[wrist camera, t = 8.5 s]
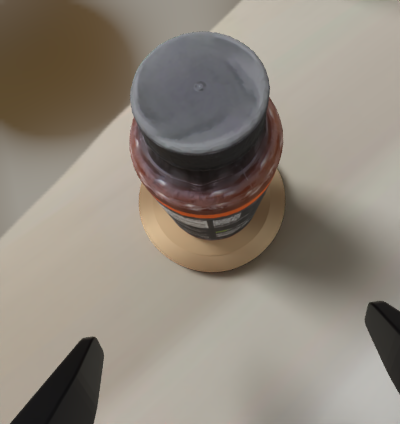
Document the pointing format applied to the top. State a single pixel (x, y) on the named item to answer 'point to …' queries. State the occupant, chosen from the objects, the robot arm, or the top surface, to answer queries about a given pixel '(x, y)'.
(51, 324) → the top surface
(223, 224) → the supplement bottle
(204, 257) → the plate
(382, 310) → the robot arm
